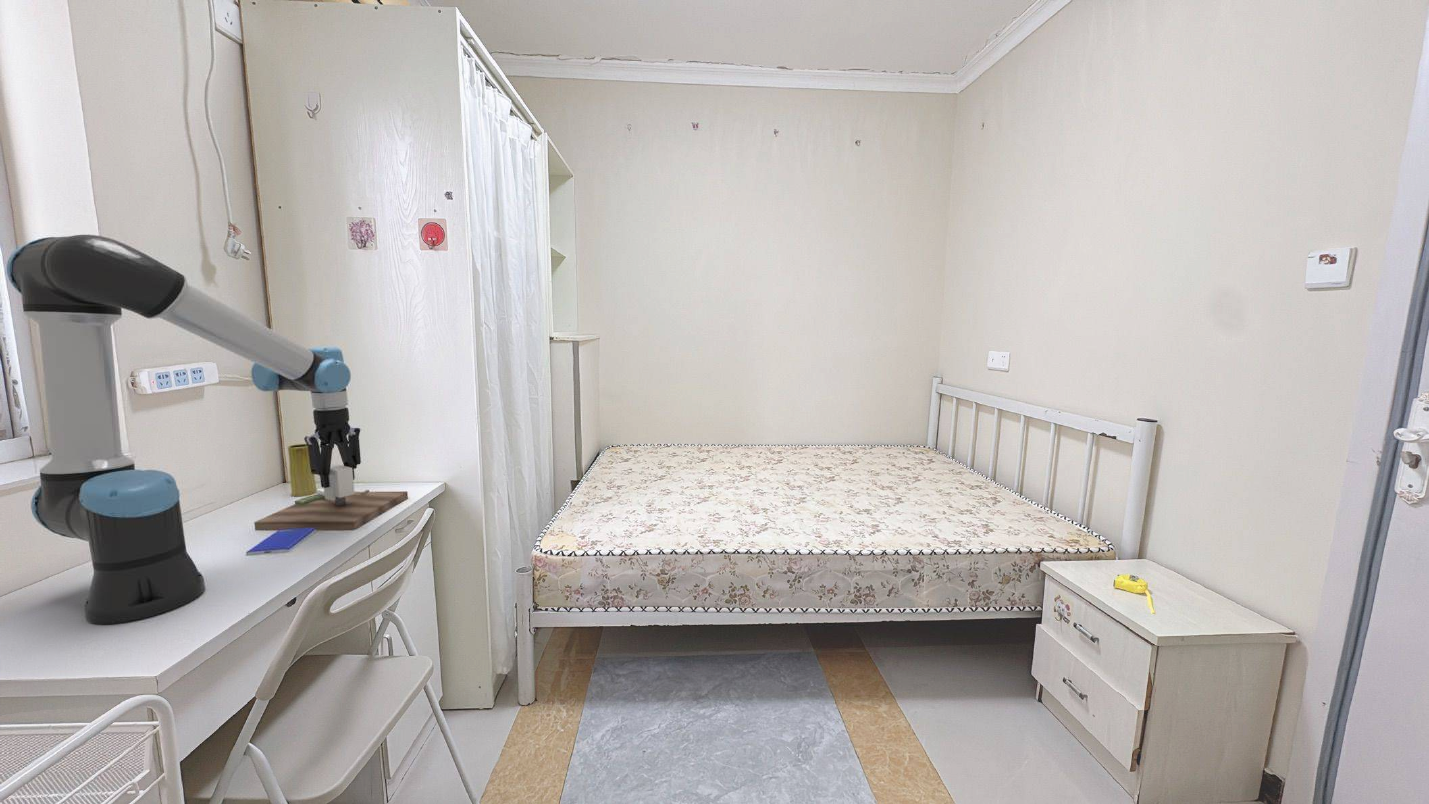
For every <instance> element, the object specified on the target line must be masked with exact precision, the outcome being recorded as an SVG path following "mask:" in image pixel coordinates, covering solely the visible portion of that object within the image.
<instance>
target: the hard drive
mask: <svg viewBox="0 0 1429 804" xmlns="http://www.w3.org/2000/svg"><path fill="white" fill-rule="evenodd" d="M316 532H317V530H316V529H315V528H302V529H288V530H276V531H275V532H274V533H272V534H270V535H269V536H267V537H266V538H265V539H263V540H262V541H260V542H259V543H257V544H256V545H255V546H253V547H252V548H250V549H249V550H247V551H246V552H245V555H246V556H257V555H258V556H259V555H269V554H272V555H273V554H285V553H290V552H292V551H293V550H294V549H295V548H297V546H299V545H300V544H302V543H303V542H304V541H305V540H307V539H308V538H309V537H311V536H312V535H313V534H315V533H316Z"/></svg>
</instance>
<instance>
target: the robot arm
mask: <svg viewBox="0 0 1429 804" xmlns="http://www.w3.org/2000/svg"><path fill="white" fill-rule="evenodd" d="M6 274H7V278H8V281H9V282H10V284H11V286H13V288H14V289H15V290H16V291H17V292H18V293H19V294H20V295H21V301H22V309H23V310H22V311H23V314H24V315H26V316H27V317H28V318H30V319H32V321H33V320H34V322H36V323H37V324H38V334H39V342H40V344H39V345H40V354H41V361H42V362H41V363H42V364H41V365H42V371H43V372H42V373H43V383H44V391H45V393H44V394H45V403H46V412H47V413H46V414H47V415H46V416H47V421H48V423H47V424H48V433H49V442H50V454H51V460H49V462H47V463H46V464H45V465H43V466H42V467H41V468H40V469H39V478H40V486H39V487H38V488H37V489H36V490H35V492H34V494H33V496H32V498H31V501H30V502H31V503H30V510H31V512H32V516H33V517H34V520H36V522H37V523H38V524H39V525H40V526H42V527H43V528H45V529H47V530H48V531H50V532H51V533H53V534H57V535H59V536H61V537H66V538H72V539H78V540H82V541H85V542H88V545H89V551H90V557H91V562H92V568H93V576H92V579H91V582H90V583H91V584H90V588H89V589H90V590H89V593H88V594H89V595H88V598H87V599H86V601H85V604H84V613H85V614H84V615H85V618H86V619H85V620H87V621H88V622H89V623H92V624H95V625H96V624H99V625H110V624H111V625H112V624H120V623H128V622H132V621H137V620H141V619H145V618H150V617H154V616H157V615H160V614H163V613H166V612H169V611H172V610H174V609H177V608H179V607H181V606H182V607H183V605H187V604H188V603H191V602H192V601H194V600H195V599H196V598H198V597H200V596H201V595H202V594H203V593H204V592H205V590H206V586H205V579H204V576H203V574H202V573H201V571H198V570H199V569H198V568H197V566H196V563H194V561H193V559H192V557H191V556H190V555H189V553H188V550H187V546H186V545H187V544H186V540H185V531H184V530H185V529H184V523H183V517H182V509H181V508H182V507H181V502H180V495H181V494H180V489H179V488H178V486H177V481H176V480H175V477H174V476H173V475H171V474H169V473H167V472H165V471H162V470H156V469H144V470H142V469H136V468H135V465H136V464H135V460H134V459H132V458H131V457H129V456H127V455H125V454H124V453H123V451H122V440H121V430H120V419H119V418H120V416H119V406H118V396H117V394H118V393H117V384H116V383H117V381H116V370H115V357H114V346H113V333H112V326H113V324H114V323H116V322H117V321H118V320H120V319H122V317H123V316H122V314H123V313H122V309H123V310H126V311H130V312H133V313H135V314H137V315H140V316H141V317H143V318H146V319H148V320H149V319H150V320H151V319H162V320H164V321H166V322H168V323H170V324H172V325H174V326H177V327H178V328H181V329H182V330H185V331H187V332H190V333H191V334H193V335H195V336H197V337H200V338H202V339H203V340H205V341H209V342H211V343H212V344H215V345H217V346H219V347H221V348H223V349H225V350H227V351H230V353H234V354H236V355H237V356H240V357H242V358H244V359H247V360H249V361H251V362H253V365H252V367H251V370H250V373H251V374H250V375H251V380H252V383H253V384H254V386H255V388H257V389H258V390H260V391H261V392H278V391H300V392H310V396H311V405H312V408H314V410H313V411H312V415H313V423H314V425H315V430H314V433H312V434H311V435H310V436H305V437H304V438H303V439H304V442H305V444H307V446H308V453H309V461H310V468H311V473H312V474H314V475H317V476H319V479H320V486H321V488H322V489H324V492H325V499H330V500H334V499H336V498H335V488H334V479H333V474H330V466H331V465H332V457H333V456H332V455H333V449H334V448H335V445H336V447H337V449H338V452H339V456H340V457H341V458H340V459H341V461H342V463H343V466H347V467H350V468H352V471H353V481H354V480H355V478H356V477H355V469H357V467H358V465H361V463H362V460H361V445H360V434H361V428H360V427H351V426H350V423H349V421H350V412H349V408H348V407H347V406H348V405H349V400H348V392H347V391H348V390H347V387H348V385H349V384H350V382H351V377H352V375H351V374H352V373H351V370H350V368H349V366H348V365H347V364H346V363H345V362H344V355H343V351H342V349H341V348H339V347H335V346H334V347H332V346H330V347H329V346H325V347H310V348H307V347H304V346H302V345H301V344H300V343H299V344H298V343H297V342H295V341H293V340H292V339H289V338H287V337H285V336H284V335H282V334H280V333H279V332H276V330H273V329H271V328H269V327H267V326H265V325H264V324H262V323H260V322H258V321H257V320H256V319H253V318H251V317H249V316H248V315H245V314H244V313H241V312H239V311H238V310H236V309H234V308H232V307H231V306H230V305H227V304H226V303H223V302H221V301H219V300H218V299H216V298H214V297H212V296H210V295H208V294H207V293H205V292H203V291H201V290H199V289H197V288H196V287H194V286H192V285H190V284H189V282H188V280H187V277H186V276H185V275H184V274H182V273H180V272H179V271H177V270H175V269H173V268H171V267H170V266H168V265H166V264H164V263H163V262H160V261H158V260H156V259H155V258H153V257H152V256H149V255H148V254H146V253H143V252H141V251H140V250H138V249H136V248H134V247H132V246H130V245H128V244H126V243H123V242H120V241H119V240H116V239H113V238H110V237H105V236H102V235H95V234H74V235H70V236H57V237H56V236H49V237H42V238H37V239H35V240H32V241H28V243H25V244H22V245H21V246H18V248H16V249H15V250H14V251H13V252H12V253H11V254H10V256H9V257H8V260H7V263H6Z"/></svg>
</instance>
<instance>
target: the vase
mask: <svg viewBox="0 0 1429 804" xmlns="http://www.w3.org/2000/svg"><path fill="white" fill-rule="evenodd" d="M287 451H288V457H289V459H288V460H289V476H290V478H289V479H290V488H291V493H290V495H291V496H292V497H306V496H309V495H310V496H311V495H312V494H313V495H314V494H315V493H316V489H317V484H316V479H315V474H312V473H311V468H310V461H309V453H308V446H307V444H306V443H299V444H298V443H296V444H291V445H289V446H287Z"/></svg>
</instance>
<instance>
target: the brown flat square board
mask: <svg viewBox="0 0 1429 804" xmlns="http://www.w3.org/2000/svg"><path fill="white" fill-rule="evenodd" d="M408 495H409V494H408V491H405V490H404V491H402V490H401V491H370V489H365V490H364V491H363V490H362V491H355V494H353V495H349V496H345V497H346V504H345V505H342V506H335V499H334V500H330V499H325V496H324V495H321V494H318V493H316V494H313V495H312V494H311V495H310V496H309V495H308V496H304V497H302V498H300V499H297V500H295V501H294V504H292V505H290V506H287V507H285V508H283V509H280V510H278V511H276V512H273V513H271V514H270V515H267V516H265V517H263V518H260V519H258V520H255V521H254V522H253V523H254V530H255V531H278V530H288V529H302V528H315V529H316V531H328V530H329V531H330V530H331V531H334V530H335V531H339V530H341V531H342V530H343V531H346V530H347V531H350V530H352V531H353V530H354V531H356V530H357V529H358V528H361V527H362V526H363V525H365V524H367V523H369V522H370V521H371V520H373V519H375V518H377V517H379V516H381V515H382V514H384V513H386V512H387V511H390V510H391V509H392V508H394V507H396V506H397V505H399V504H401V503H403V502H404V501H406V500H407V499H409V496H408Z"/></svg>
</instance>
